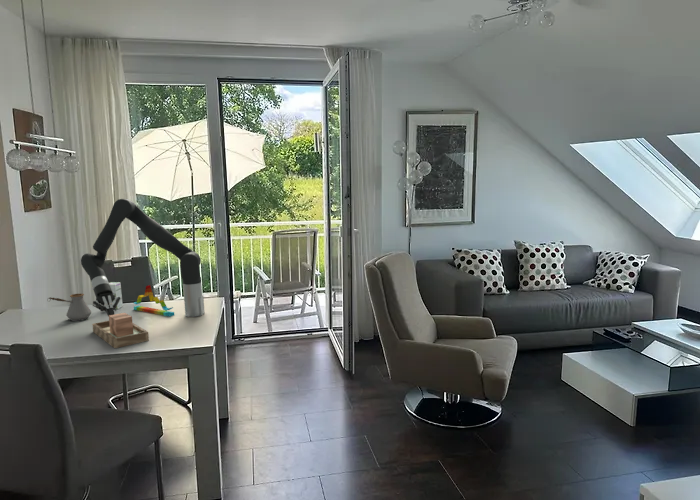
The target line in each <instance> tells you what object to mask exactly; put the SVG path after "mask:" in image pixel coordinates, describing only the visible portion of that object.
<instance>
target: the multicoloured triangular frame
mask: <svg viewBox="0 0 700 500" xmlns="http://www.w3.org/2000/svg"><path fill="white" fill-rule="evenodd" d="M151 286H152V285H151V284H149V285H145V290H144V294H140V295H138V296H137V301H135V302H133V304H134V305H135V306H133V310H134V311H138V312H139V311H140V312H144V313H149V314H155V315H159V316H164V317H173V316H175V312H174V311H170V310H172V309H174V307H173V306H171V307H168V306H167V304H166V303H165V301H164V299H161V300H160V298H158V296H154V293H153V290H152V287H151ZM145 297H148V299H149V301H150V302H155V304H160V306H161V308H162V309H159V308H152V307H148V306H143V305H140V304H141V303H142V299H143V298H145Z"/></svg>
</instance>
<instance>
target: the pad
mask: <svg viewBox="0 0 700 500" xmlns="http://www.w3.org/2000/svg"><path fill="white" fill-rule="evenodd" d="M138 333H140V332H139V331H137V330H136V329H134V328H133V334H138ZM110 334H111V335H112V336H114V335H113V334H112V333H110ZM133 334H131V335H133ZM126 336H129V335H126ZM114 337H115V338H120V337H116V336H114ZM122 337H124V336H122Z"/></svg>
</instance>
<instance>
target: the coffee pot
mask: <svg viewBox="0 0 700 500" xmlns="http://www.w3.org/2000/svg"><path fill="white" fill-rule="evenodd" d="M84 296H85V294H84V293H73V294H70V295H69V297H70V299H71V300H69V299H64V298H59V297H58V298H57V297H52V296H51V297H47V302H50V301H58V302H65V303H69V305H68V309H67V312H66V317H67V319H69V320H70V321H73V322H75V321H76V322H77V321H83V320H86V319H88V317H90V316H91V314H92V311H91V309H90V307H89V306H88V305H87V302H86V301H85V299H84V298H83V297H84Z"/></svg>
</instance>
